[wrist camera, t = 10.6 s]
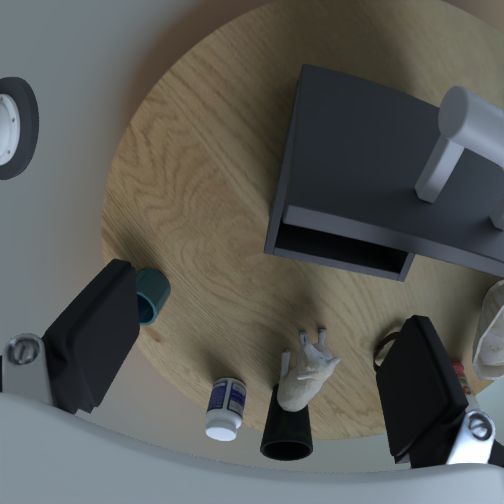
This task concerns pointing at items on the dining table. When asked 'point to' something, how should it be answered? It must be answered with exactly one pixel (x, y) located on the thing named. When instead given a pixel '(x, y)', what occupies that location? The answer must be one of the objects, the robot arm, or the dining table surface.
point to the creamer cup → (151, 294)
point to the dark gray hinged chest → (326, 234)
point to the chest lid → (399, 169)
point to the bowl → (490, 336)
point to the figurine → (305, 373)
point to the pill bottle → (225, 409)
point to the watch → (381, 346)
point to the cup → (286, 432)
